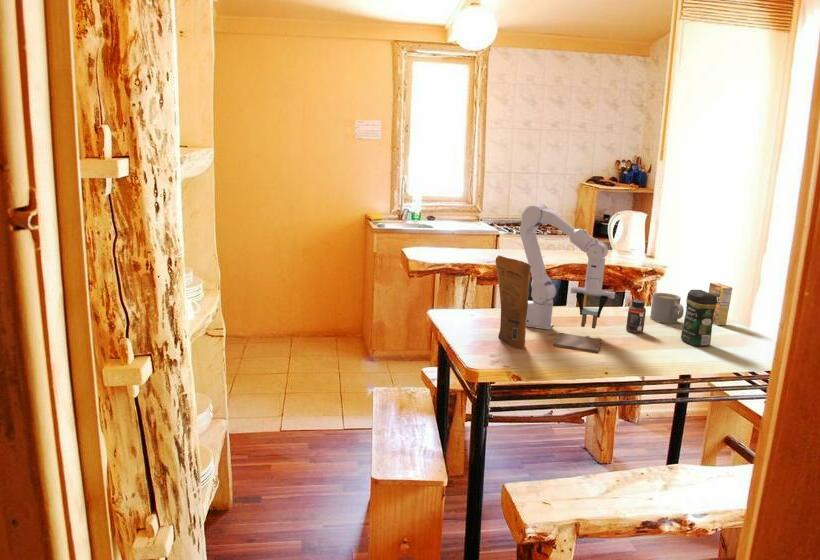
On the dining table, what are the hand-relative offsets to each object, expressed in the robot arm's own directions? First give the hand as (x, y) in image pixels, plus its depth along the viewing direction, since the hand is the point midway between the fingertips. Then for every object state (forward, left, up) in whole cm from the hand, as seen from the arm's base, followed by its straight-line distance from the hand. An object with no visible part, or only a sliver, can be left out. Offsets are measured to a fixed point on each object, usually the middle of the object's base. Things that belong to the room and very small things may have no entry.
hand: (589, 315), depth 213 cm
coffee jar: (+35, +11, -7) cm, 38 cm away
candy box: (+44, +46, -7) cm, 65 cm away
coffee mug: (+26, +37, -7) cm, 46 cm away
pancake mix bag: (-23, -22, -7) cm, 33 cm away
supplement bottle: (+15, +15, -7) cm, 23 cm away
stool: (0, 0, -4) cm, 4 cm away
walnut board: (-2, -12, -7) cm, 14 cm away
